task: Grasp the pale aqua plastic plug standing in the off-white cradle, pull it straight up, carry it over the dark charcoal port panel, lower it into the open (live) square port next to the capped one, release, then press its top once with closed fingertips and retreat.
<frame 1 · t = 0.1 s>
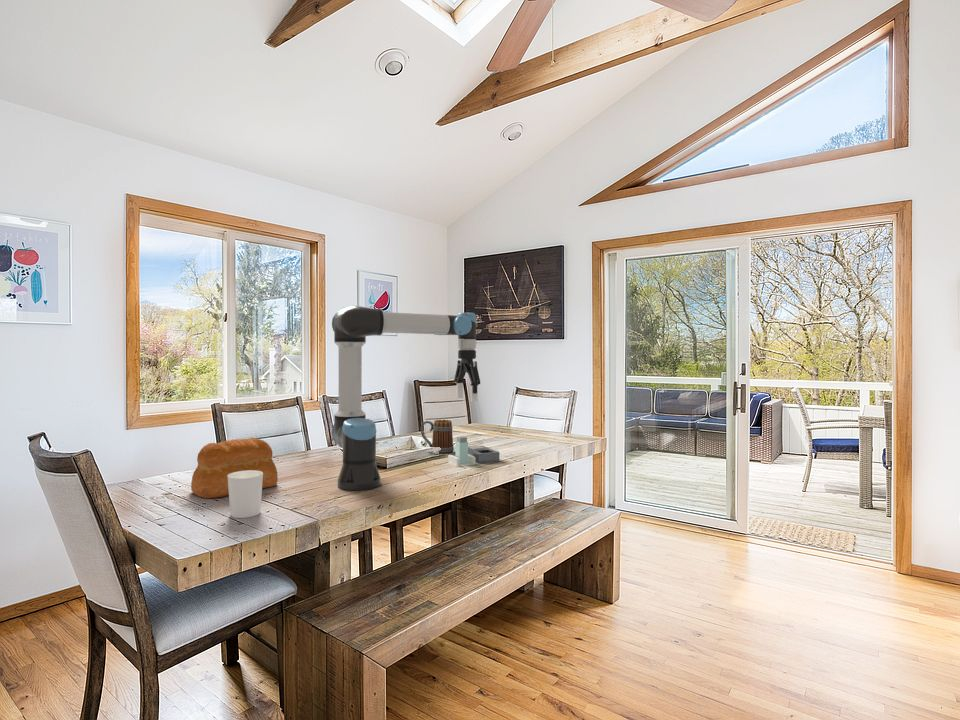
hand: (466, 399, 230), 28 cm above the table, fingers open, 13 cm apart
candle holder: (245, 514, 162), on the table
mug: (437, 452, 256), on the table
holster: (461, 465, 229), on the table
plug: (461, 463, 229), point 1 cm above the table, touching holster
bread: (235, 489, 190), on the table
port panel: (480, 461, 238), on the table
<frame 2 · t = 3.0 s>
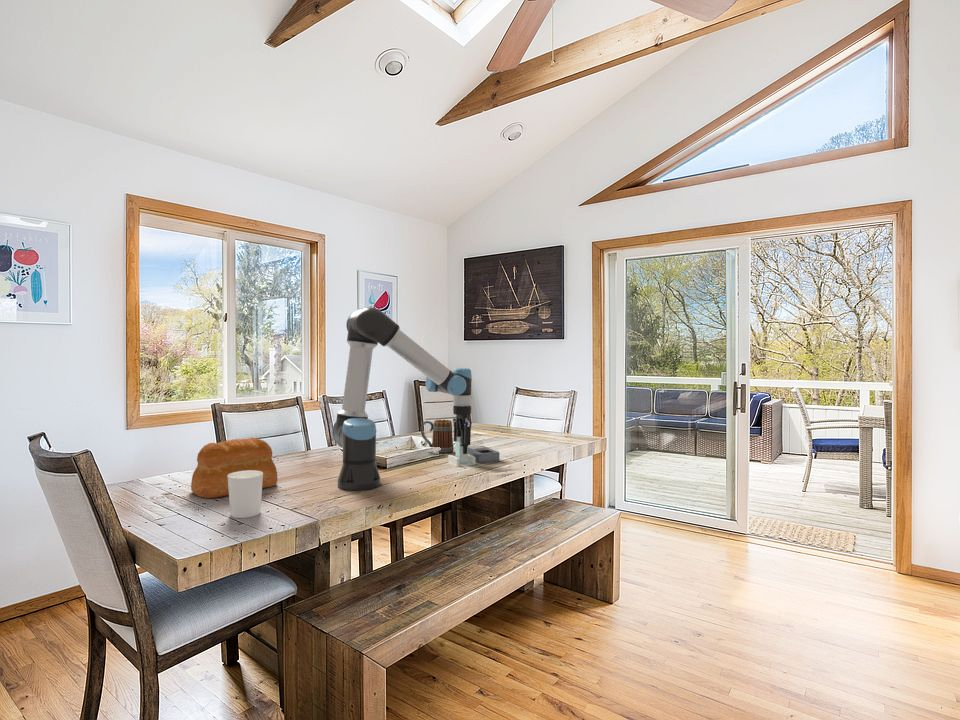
hand: (461, 460, 229), 2 cm above the table, fingers closed on plug, 4 cm apart
plug: (461, 463, 229), point 1 cm above the table, touching gripper, holster
everything else where it was.
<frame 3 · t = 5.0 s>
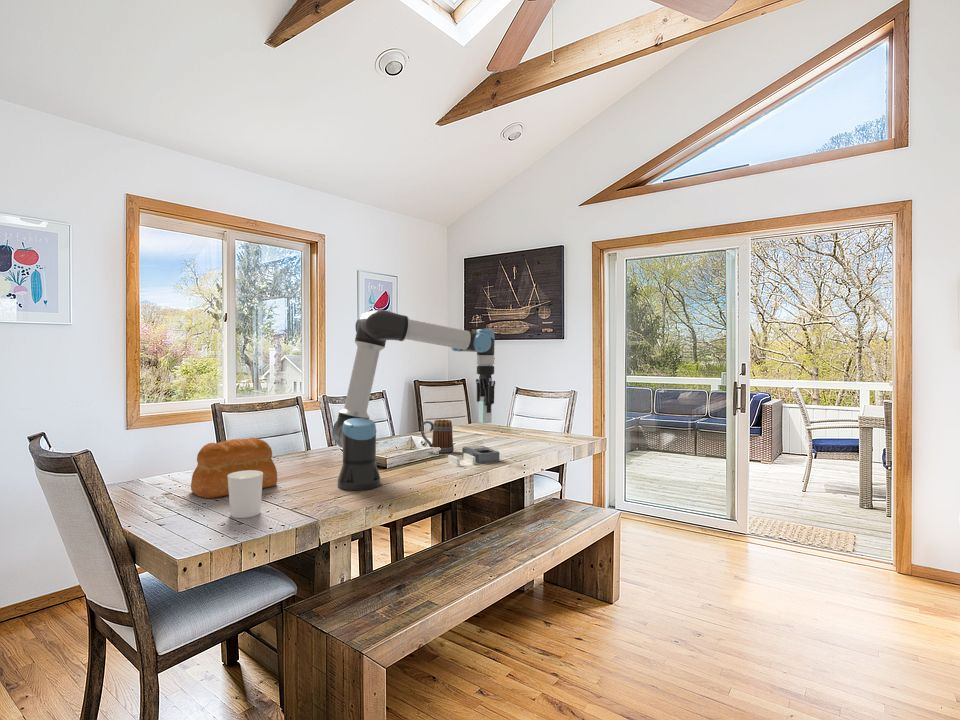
hand: (485, 419, 234), 19 cm above the table, fingers closed on plug, 4 cm apart
plug: (485, 422, 234), point 18 cm above the table, touching gripper
everything else where it was.
when the fingers open (6 cm above the table, at t = 7.5 s): plug drops 5 cm, resting in port panel.
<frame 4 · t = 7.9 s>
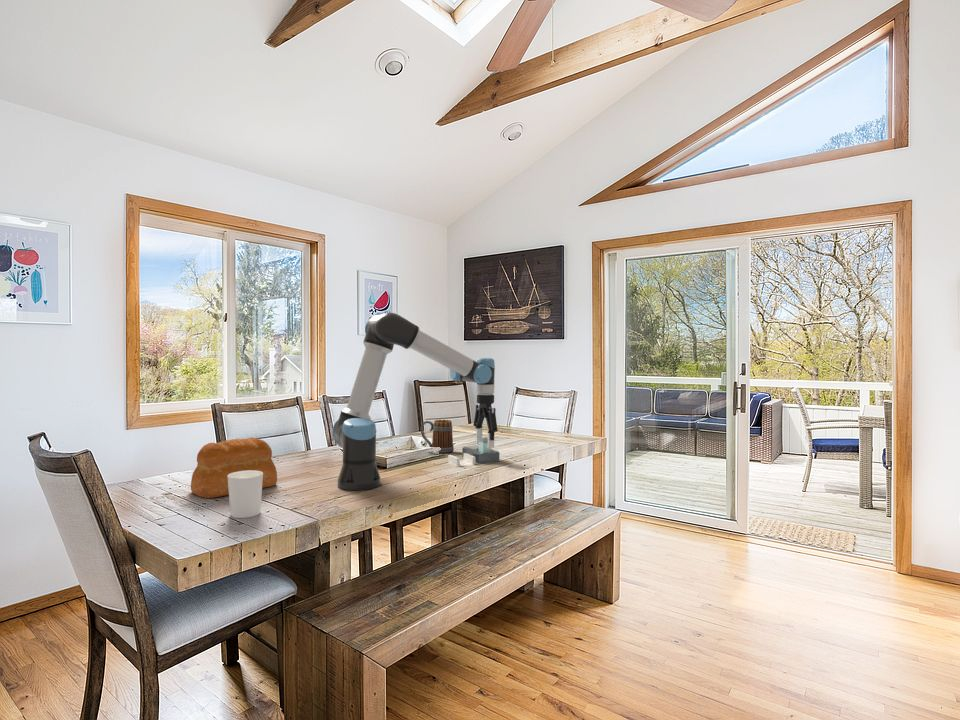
hand: (484, 445, 234), 8 cm above the table, fingers open, 10 cm apart
plug: (484, 463, 234), resting in port panel
everything else where it was.
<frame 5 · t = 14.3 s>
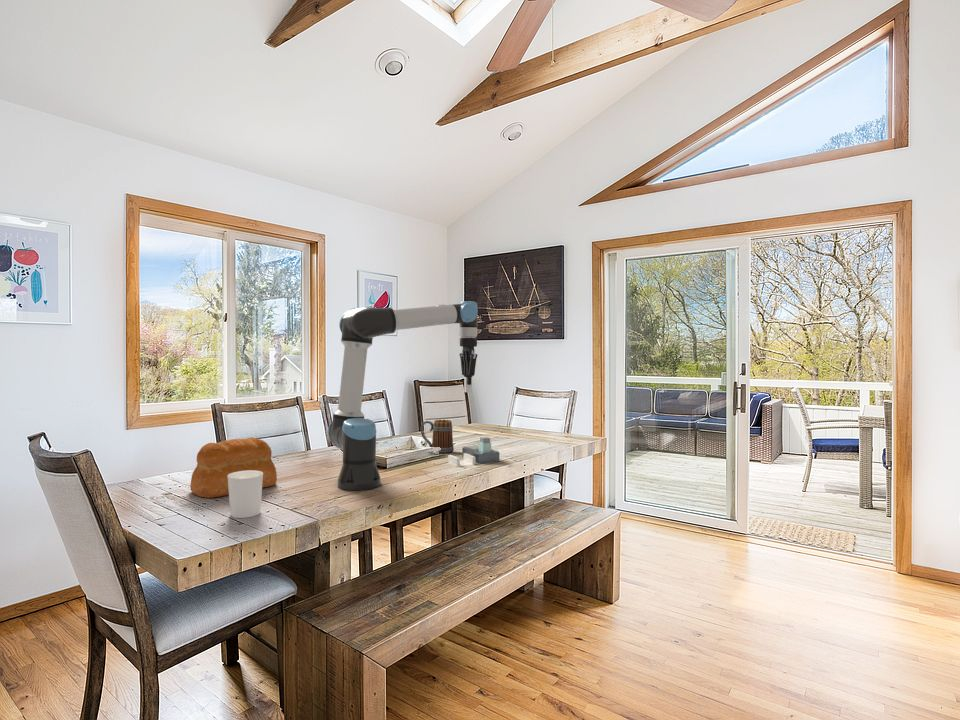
hand: (467, 392, 235), 30 cm above the table, fingers closed
nothing on the table moved.
at the end: plug 0.0 cm from the target spot on the port panel, point 0.0 cm above the port panel's base; plug tilted 0°; the gripper is holding nothing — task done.
